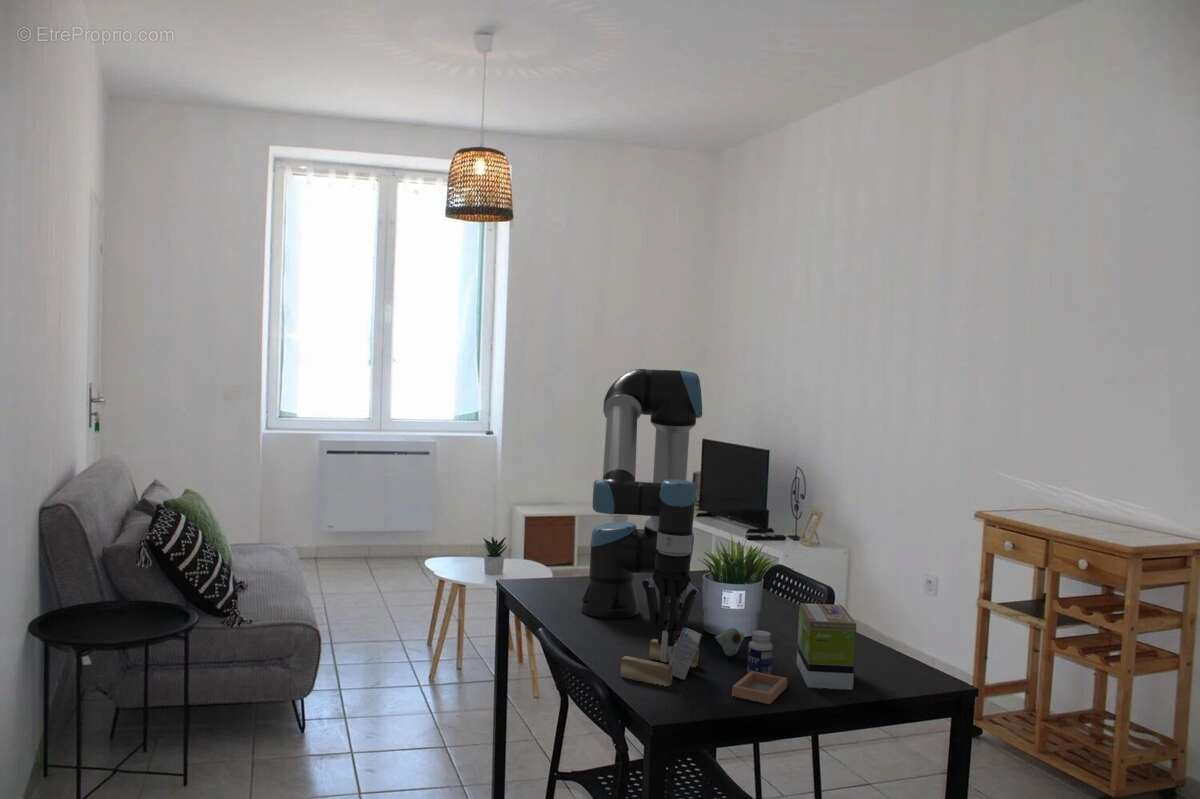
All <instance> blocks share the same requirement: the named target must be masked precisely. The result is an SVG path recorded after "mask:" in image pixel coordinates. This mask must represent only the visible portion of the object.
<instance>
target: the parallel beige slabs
mask: <svg viewBox="0 0 1200 799" xmlns="http://www.w3.org/2000/svg"><path fill="white" fill-rule="evenodd" d="M675 647H676V643H675V645H674V646H672V647H671V657H672V654H673V652H674V649H675ZM699 652H700V648H699V647H698V648H697V651H696V653H695V656H694V658H693V661H692V663H691V665H690V666H692V667H691V668H693V667H695V668H696V666H697V665H698V666H699V655H700V654H699ZM648 653H649V655H648V657H649V658H650V659H649V658H648V659H649V660H647V659H643V658H638V657H633V656H628V655H624V656H623V657H621V658H620V659H621V660H620V678H624V679H629V680H634V681H638V682H642V681H643V683H648V684H652V683H653V685H656V684H659V685H658V686H661V685H664V686H663V687H666V686H669V685H670V686H672V685H673V675H672V674H673V665H668V664H669V663H668V662H670V660H668V661H666V662H665V663H663V662H659V661H658V660H660V658H661V644H658V639H654V638H653V639H651V640H650V641H649V652H648ZM671 657H670V659H671ZM653 659H656V660H655V661H654V660H653ZM652 660H653V661H652ZM657 661H658V662H657ZM667 663H668V664H667ZM698 666H697V667H698ZM671 684H672V685H671ZM670 686H669V687H670Z"/></svg>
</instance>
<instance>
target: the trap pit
mask: <svg viewBox="0 0 1200 799" xmlns="http://www.w3.org/2000/svg"><path fill="white" fill-rule="evenodd" d="M787 686H788V677H784V676H779V675H774V674H765V673H760V672H754V671H750V672H747V673H746V674H745V675H744V676H743V677H742V678H740V679H739V680H738V681H737V682H736V683H735V684H734V685H733V686H732V687H731V688H732V689H731V697H733V696H735V697H734V698H738V697H739V699H744V700H747V699H748V700H749V701H753V702H757V701H758V702H757V703H762V704H766V705H770V704H772V702H774V700H776V699H777V698H778V696H780V694H781V693H783V692H784V691H785V690H786V689H787V688H788V687H787ZM748 700H747V701H748Z"/></svg>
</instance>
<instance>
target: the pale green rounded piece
mask: <svg viewBox="0 0 1200 799" xmlns="http://www.w3.org/2000/svg"><path fill="white" fill-rule="evenodd" d="M745 638H746V637H745V633H743V632H741V631H739V629H737V628H734V627H732V628H728V629H726V630H724V631H723V632H721V633H720V634H717V635H716V636H714V639H715V640H716V641H717V642H718V643H719V645H720V646H721V647H722V650H723V652H724V654H725V655H726V656H727V657H733V656H734V655H736V654H737V652H738V651H739V649H740V647H741V644H742V642H743V641H744V639H745Z"/></svg>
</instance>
